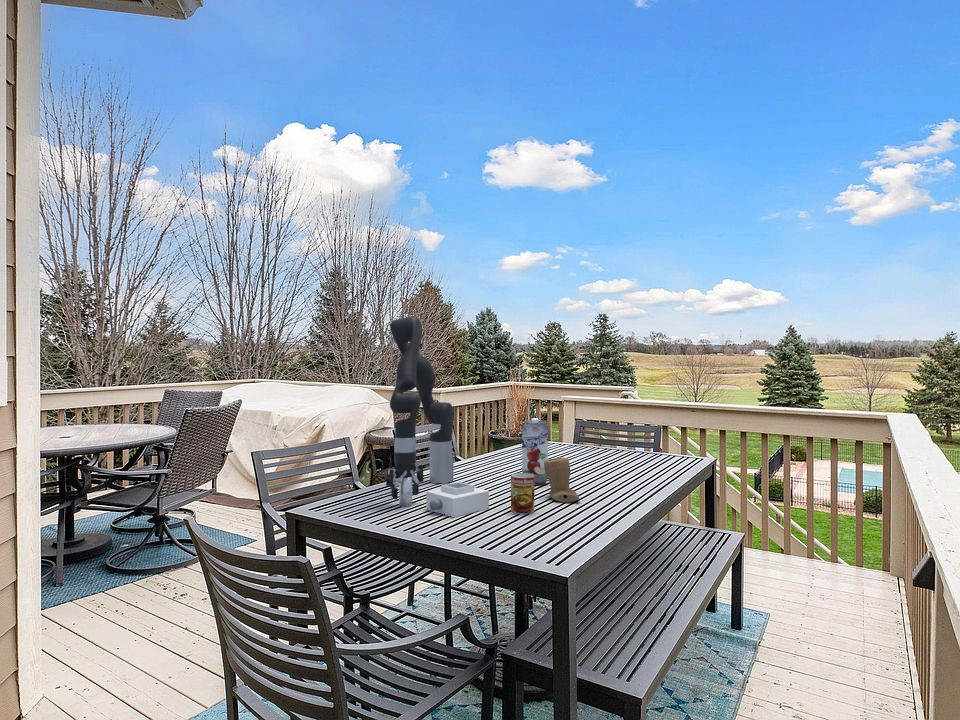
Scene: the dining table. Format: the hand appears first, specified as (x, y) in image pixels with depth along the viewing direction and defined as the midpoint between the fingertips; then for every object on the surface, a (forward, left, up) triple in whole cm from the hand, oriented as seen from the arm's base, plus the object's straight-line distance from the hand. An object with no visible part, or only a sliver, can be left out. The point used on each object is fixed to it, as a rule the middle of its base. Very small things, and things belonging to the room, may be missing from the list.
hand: (405, 496), depth 196 cm
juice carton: (-60, +7, -3) cm, 61 cm away
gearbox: (-9, +16, -3) cm, 19 cm away
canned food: (-24, +33, -3) cm, 41 cm away
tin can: (0, 0, -3) cm, 3 cm away
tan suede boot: (-47, +31, -3) cm, 57 cm away
